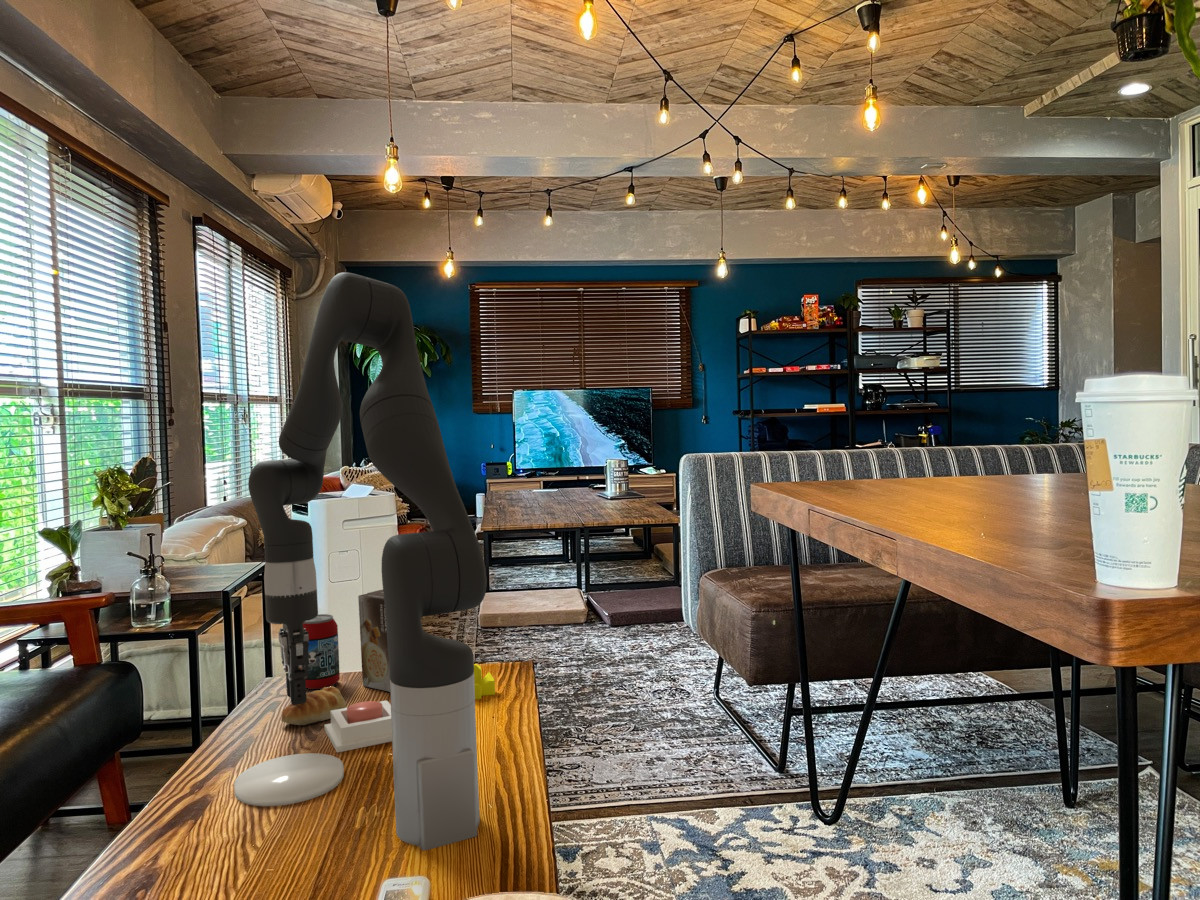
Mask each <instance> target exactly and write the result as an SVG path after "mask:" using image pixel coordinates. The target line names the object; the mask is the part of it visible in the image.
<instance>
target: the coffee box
mask: <svg viewBox="0 0 1200 900" xmlns="http://www.w3.org/2000/svg"><path fill="white" fill-rule="evenodd" d="M357 597H358V599H357V600H358V612H359V613H358V615H359V616H358V617H359V635H360V639H359V640H360V655H361V657H360V658H361V674H362V675H361V678H362V680H361V681H362V686H363V687H366V688H371V689H375V690H380V691H384V692H389V693H390V667H389V655H388V643H387V625H386V613H385V603H384V594H383V589H379V590H375V591H371V592H367V593H365V594H360V595H358V596H357Z"/></svg>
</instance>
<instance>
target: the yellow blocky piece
mask: <svg viewBox="0 0 1200 900" xmlns="http://www.w3.org/2000/svg"><path fill="white" fill-rule="evenodd" d="M495 683H496V682H495V679H494V677H493V675H492V674H491V672H487V673H486V675H484V676H483V672H482V666H481V665H479V664H478V663H474V687H475V700H482V696H495V695H496V684H495Z"/></svg>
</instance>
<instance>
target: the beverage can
mask: <svg viewBox="0 0 1200 900" xmlns="http://www.w3.org/2000/svg"><path fill="white" fill-rule="evenodd" d="M304 628H305V629H306V632H307V631H308V636H309V642H308V643H309V647H308V656H309V660H308V671H309V674H308V677H307V678H305V679H306V688H308V689H307V690H309V689H320V690H322V689H323V688H324V687H330V686H333V687H334V685H335V684H336V683H337V682H339V681H340V676H341V675H340V673H341V672H340V651H339V650H340V649H339V648H340V647H339V632H338V631H339V630H338V629H339V628H338V624H337V622H336V620H335V618H334V616H333V615H332V614H329V613H328V614H327V613H326V614H325V613H323V614H322V613H320V614H319V613H318V615H317V617H315V618H314V619H312V620H306V621H305V622H303V629H304ZM301 670H302V667H301Z"/></svg>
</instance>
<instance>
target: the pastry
mask: <svg viewBox="0 0 1200 900" xmlns="http://www.w3.org/2000/svg"><path fill="white" fill-rule="evenodd" d="M306 699H307V700H306V702H305V703H303V704H298V705H292V703H291V702H290V704H289V705H287V706H286V707H285V708H284V709H283V710H282V712H281V718H280V719H281V720H280V721H281V722H283V723H284V724H285V723H286V724H290V725H294V726H296V725H297V726H300V727H301V726H306V725H309V724H315V723H317V722H322V721H325V720H329V719H330V720H331V715H330V711H331V710H337V709H342V708H347V704H346V701H345V698H344V697H343V695H342V694H341V691H340V689H339V688H337V687H335V686H334V685H333V686H331V687H328V688H327V687H324V688H323V689H320V690H312V691H311V692H306Z"/></svg>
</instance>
